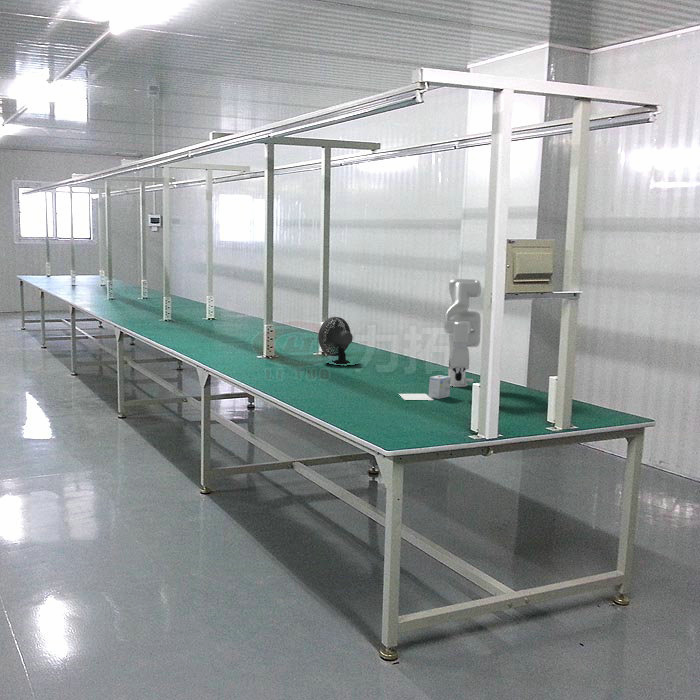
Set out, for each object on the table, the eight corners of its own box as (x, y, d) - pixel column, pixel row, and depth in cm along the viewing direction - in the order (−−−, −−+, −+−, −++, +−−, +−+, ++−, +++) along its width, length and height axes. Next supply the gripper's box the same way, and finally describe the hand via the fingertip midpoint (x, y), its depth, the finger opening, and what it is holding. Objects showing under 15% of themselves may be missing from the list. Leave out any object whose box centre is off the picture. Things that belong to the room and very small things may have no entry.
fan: (354, 360, 512) (355, 315, 508) (360, 366, 486) (361, 320, 482) (315, 359, 509) (316, 315, 504) (319, 366, 483) (320, 319, 479)
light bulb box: (439, 394, 402) (440, 374, 400) (449, 396, 397) (451, 376, 396) (427, 397, 393) (429, 376, 392) (438, 399, 389) (440, 378, 388)
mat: (425, 394, 402) (425, 393, 402) (433, 400, 387) (433, 399, 387) (397, 394, 400) (397, 393, 400) (405, 400, 384) (405, 400, 384)
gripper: (471, 344, 398) (469, 379, 401) (443, 344, 396) (442, 379, 398) (476, 346, 391) (474, 381, 393) (448, 346, 388) (446, 381, 391)
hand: (458, 380), depth 396 cm, fingers closed
